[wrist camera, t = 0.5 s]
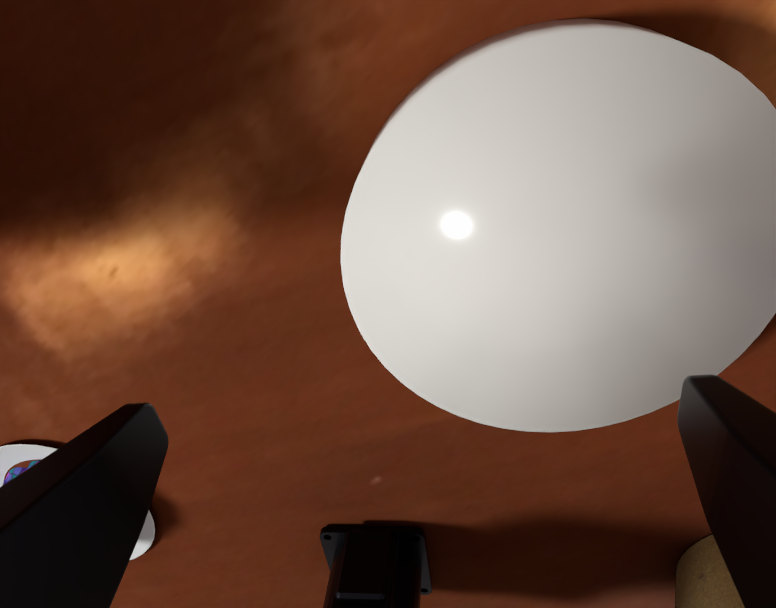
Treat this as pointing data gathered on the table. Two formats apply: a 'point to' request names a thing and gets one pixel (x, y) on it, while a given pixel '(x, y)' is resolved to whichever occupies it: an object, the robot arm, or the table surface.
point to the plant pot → (705, 578)
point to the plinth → (565, 226)
